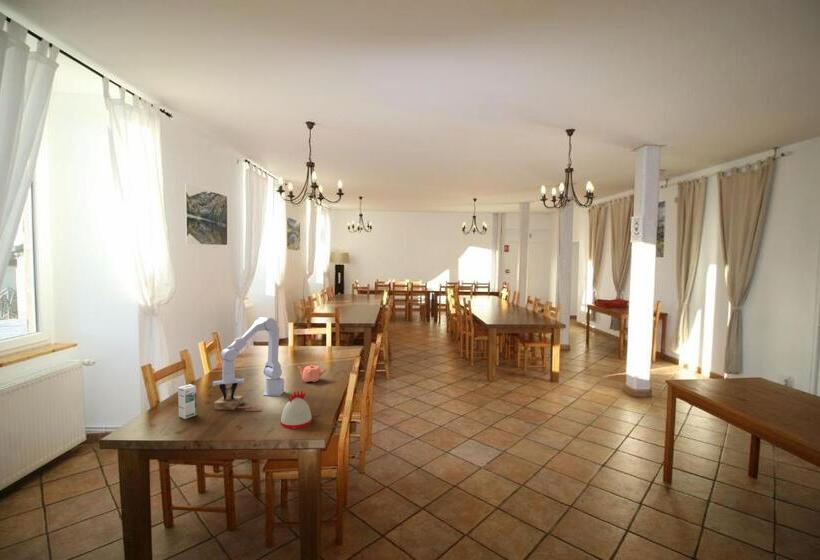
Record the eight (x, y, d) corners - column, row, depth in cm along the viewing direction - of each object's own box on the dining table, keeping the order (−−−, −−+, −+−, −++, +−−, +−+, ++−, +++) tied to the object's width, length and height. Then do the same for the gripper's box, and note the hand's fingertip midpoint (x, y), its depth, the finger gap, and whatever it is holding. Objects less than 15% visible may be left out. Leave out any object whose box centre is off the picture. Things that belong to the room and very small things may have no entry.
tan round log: (233, 401, 202) (232, 386, 201) (230, 403, 199) (230, 388, 198) (227, 401, 202) (227, 386, 201) (224, 403, 199) (224, 388, 198)
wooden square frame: (242, 402, 205) (242, 396, 205) (233, 409, 195) (233, 403, 195) (224, 402, 205) (224, 395, 205) (214, 409, 195) (214, 402, 195)
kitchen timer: (315, 424, 179) (315, 392, 179) (285, 431, 172) (285, 398, 171) (306, 414, 191) (306, 384, 190) (277, 420, 184) (277, 389, 183)
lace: (264, 408, 197) (264, 407, 197) (261, 411, 194) (261, 410, 193) (234, 407, 198) (234, 406, 198) (231, 410, 194) (231, 409, 194)
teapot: (317, 376, 252) (317, 361, 251) (326, 381, 243) (326, 365, 242) (296, 381, 243) (296, 365, 242) (305, 385, 234) (305, 369, 233)
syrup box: (184, 419, 183) (184, 389, 182) (178, 416, 186) (177, 386, 185) (196, 415, 188) (196, 385, 187) (190, 412, 191) (189, 383, 190)
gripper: (244, 368, 206) (244, 394, 206) (213, 371, 200) (214, 397, 201) (243, 372, 199) (243, 398, 200) (212, 375, 194) (212, 401, 195)
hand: (228, 398), depth 200 cm, fingers closed on tan round log, 3 cm apart
